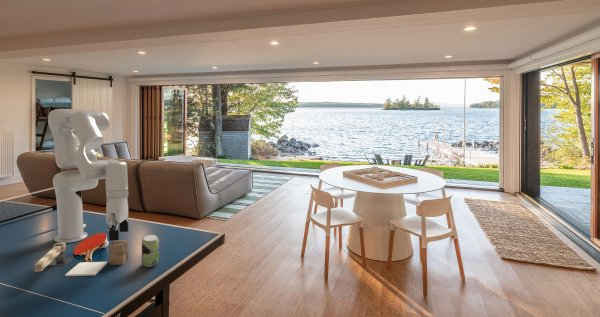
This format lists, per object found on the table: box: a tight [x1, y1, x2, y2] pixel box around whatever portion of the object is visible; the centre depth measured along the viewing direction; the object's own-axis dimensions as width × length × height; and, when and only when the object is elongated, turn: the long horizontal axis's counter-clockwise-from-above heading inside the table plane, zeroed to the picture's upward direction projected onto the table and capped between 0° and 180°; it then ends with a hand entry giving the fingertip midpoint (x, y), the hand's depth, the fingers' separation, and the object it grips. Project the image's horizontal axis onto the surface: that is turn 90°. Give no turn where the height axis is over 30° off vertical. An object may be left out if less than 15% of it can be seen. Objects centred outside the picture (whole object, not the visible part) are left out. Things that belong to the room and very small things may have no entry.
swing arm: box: [33, 242, 67, 273], centre depth 120 cm, size 20×4×6 cm, turn 17°
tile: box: [64, 261, 108, 277], centre depth 123 cm, size 10×10×1 cm
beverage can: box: [141, 234, 160, 268], centre depth 127 cm, size 6×7×12 cm
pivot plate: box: [46, 257, 73, 267], centre depth 128 cm, size 6×6×1 cm
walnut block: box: [108, 239, 129, 266], centre depth 129 cm, size 5×5×8 cm
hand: (119, 235), depth 128 cm, fingers open, 9 cm apart
